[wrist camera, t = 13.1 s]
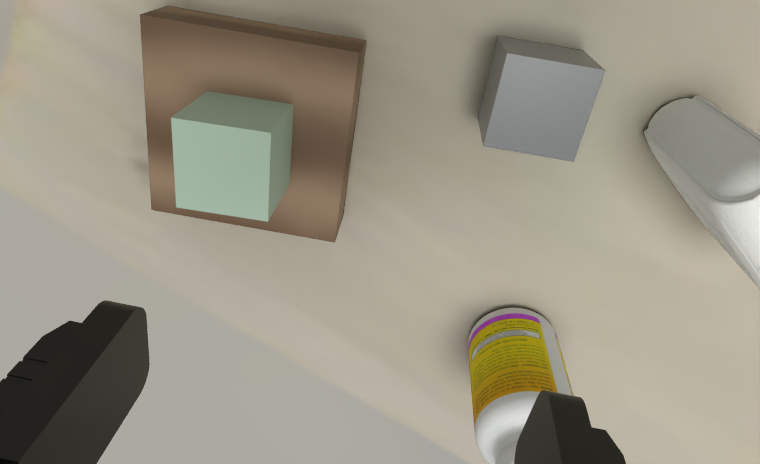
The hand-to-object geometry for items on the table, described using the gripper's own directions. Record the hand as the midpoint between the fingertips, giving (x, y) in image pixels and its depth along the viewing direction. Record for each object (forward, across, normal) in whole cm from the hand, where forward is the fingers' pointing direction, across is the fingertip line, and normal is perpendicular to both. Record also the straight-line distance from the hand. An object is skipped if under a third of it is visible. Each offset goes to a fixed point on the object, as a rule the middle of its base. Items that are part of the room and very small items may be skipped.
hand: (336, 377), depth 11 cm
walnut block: (+26, +9, +6) cm, 28 cm away
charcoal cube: (+26, -7, 0) cm, 27 cm away
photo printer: (+26, -19, +3) cm, 33 cm away
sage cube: (+22, +8, +5) cm, 24 cm away
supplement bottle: (+26, -12, +19) cm, 34 cm away
